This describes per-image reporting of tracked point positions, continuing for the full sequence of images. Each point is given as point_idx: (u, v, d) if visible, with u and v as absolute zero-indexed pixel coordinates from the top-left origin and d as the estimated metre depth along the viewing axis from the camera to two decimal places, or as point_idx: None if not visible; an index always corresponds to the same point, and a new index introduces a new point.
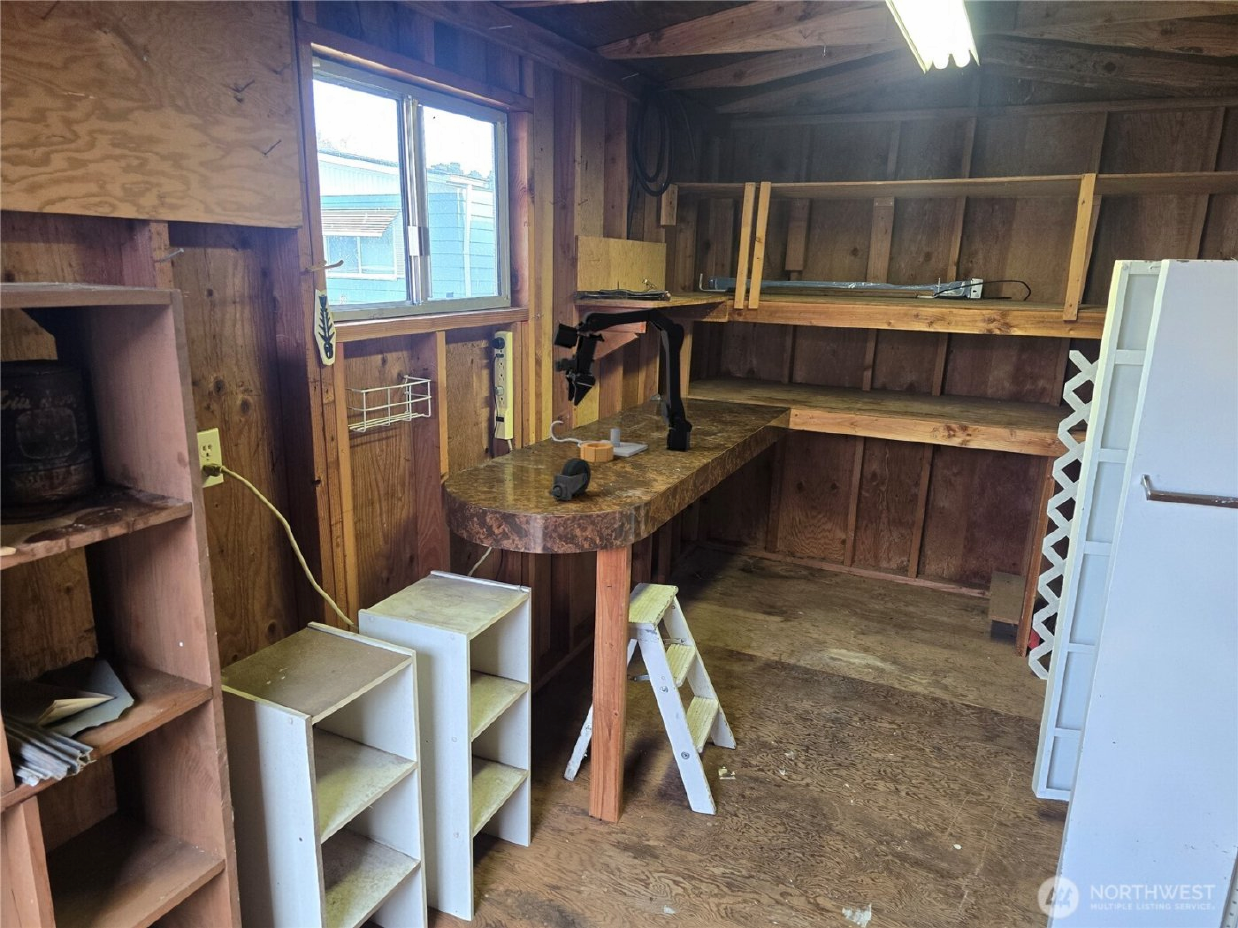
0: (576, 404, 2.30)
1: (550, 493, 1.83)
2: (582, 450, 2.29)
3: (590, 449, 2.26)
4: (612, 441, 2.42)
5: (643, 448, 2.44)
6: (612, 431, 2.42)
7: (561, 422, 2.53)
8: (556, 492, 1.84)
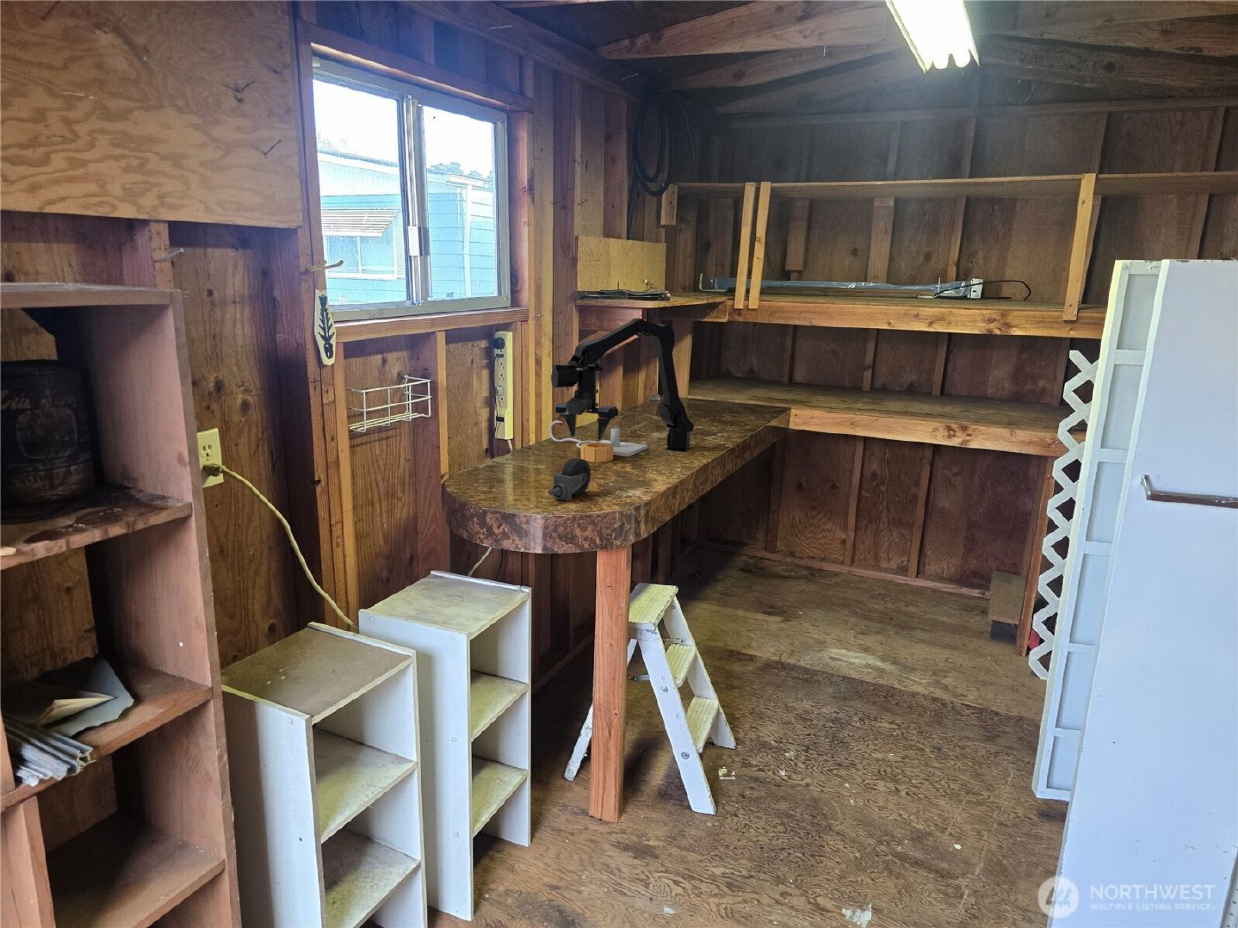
0: (600, 438, 2.30)
1: (550, 493, 1.83)
2: (582, 450, 2.29)
3: (590, 449, 2.26)
4: (612, 441, 2.42)
5: (643, 448, 2.44)
6: (612, 431, 2.42)
7: (560, 422, 2.54)
8: (556, 492, 1.84)
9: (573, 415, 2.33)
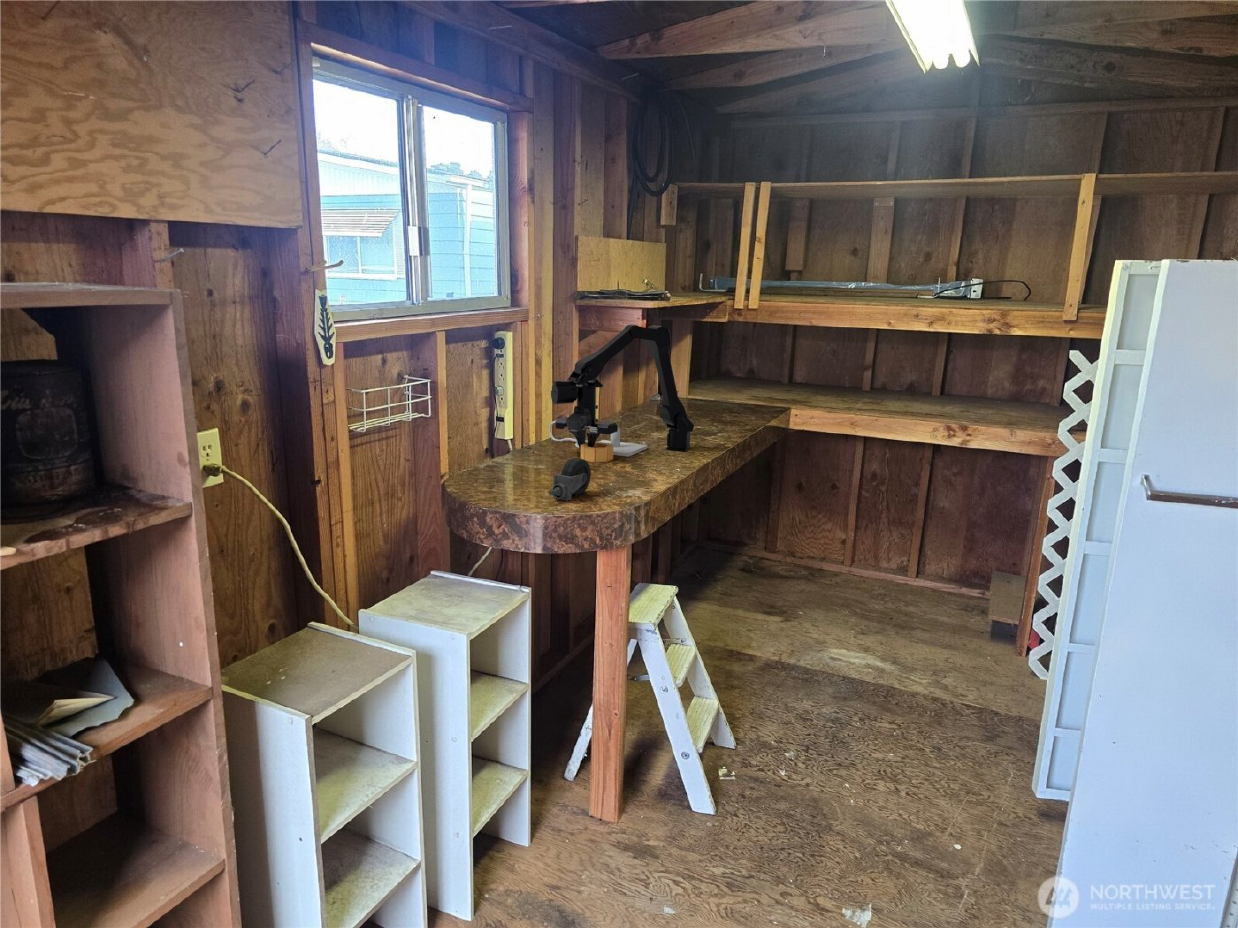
0: None
1: (550, 493, 1.83)
2: (582, 450, 2.29)
3: (590, 449, 2.26)
4: (612, 441, 2.42)
5: (643, 448, 2.44)
6: None
7: None
8: (556, 492, 1.84)
9: (583, 432, 2.33)
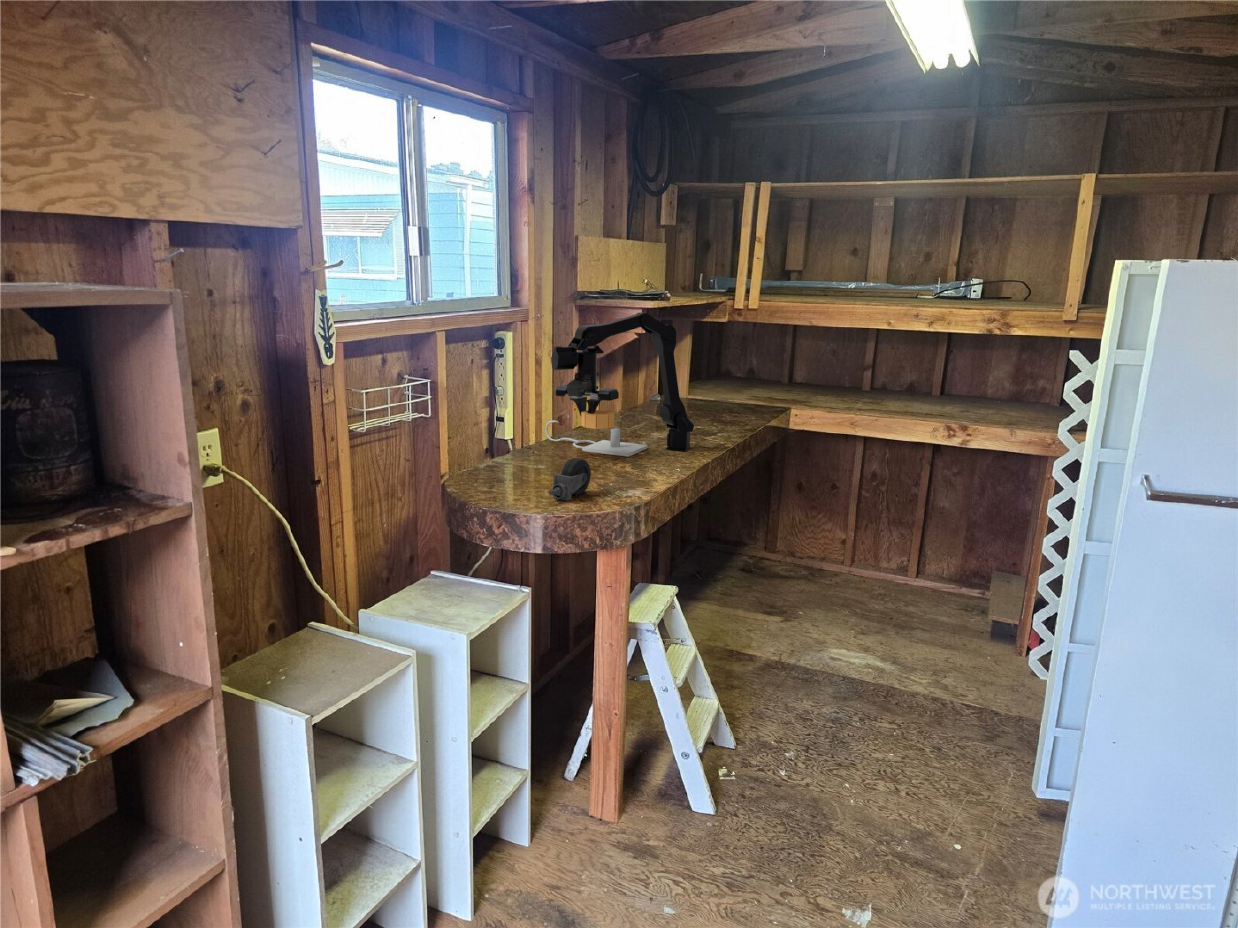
0: None
1: (550, 493, 1.83)
2: (583, 417, 2.27)
3: (591, 416, 2.24)
4: (612, 441, 2.42)
5: (643, 448, 2.44)
6: (612, 431, 2.42)
7: None
8: (556, 492, 1.84)
9: (584, 399, 2.31)
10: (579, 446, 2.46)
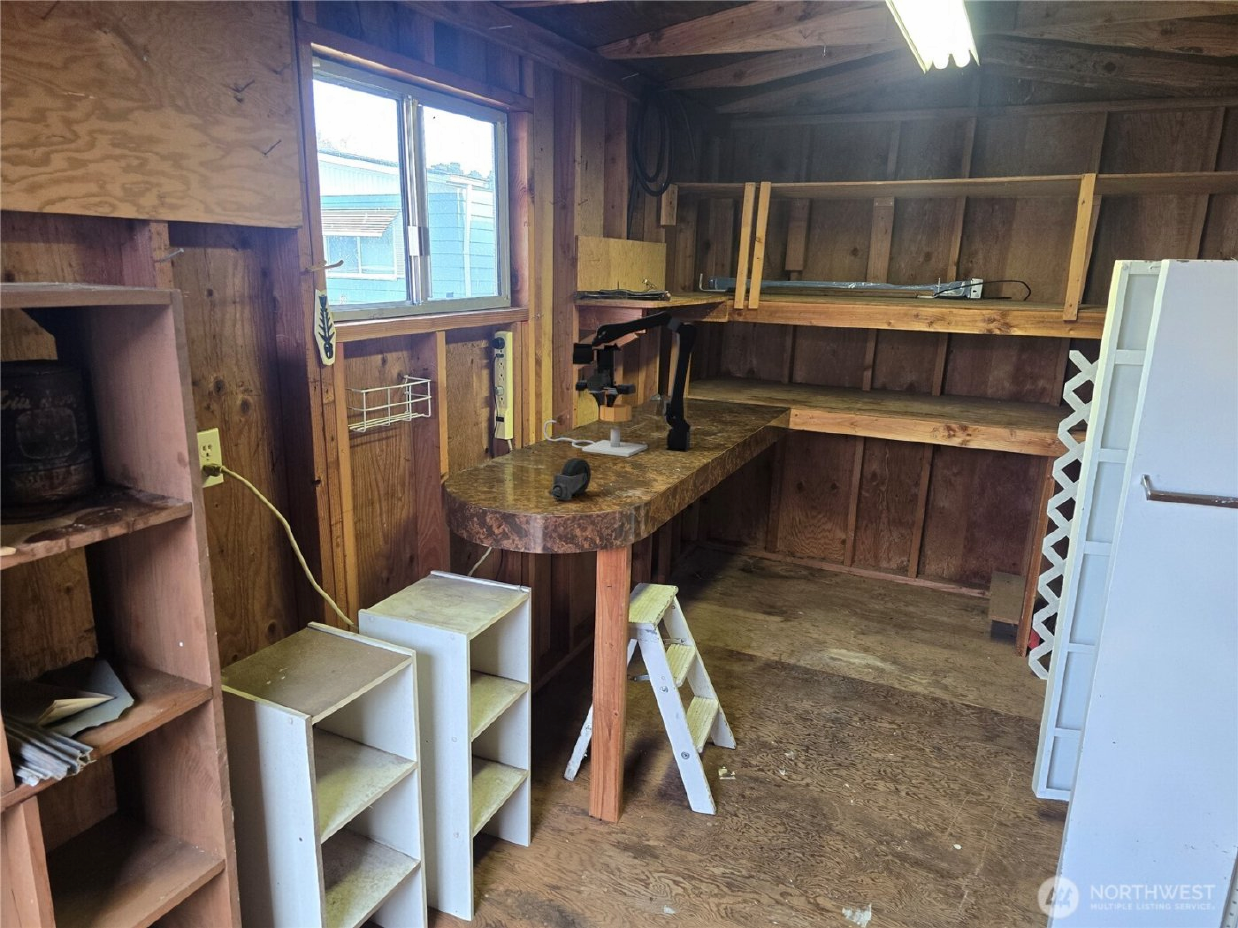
0: None
1: (550, 493, 1.83)
2: (602, 411, 2.39)
3: (610, 409, 2.37)
4: (612, 441, 2.42)
5: (643, 448, 2.44)
6: (612, 431, 2.42)
7: (555, 421, 2.54)
8: (556, 492, 1.84)
9: (602, 394, 2.43)
10: (578, 446, 2.46)
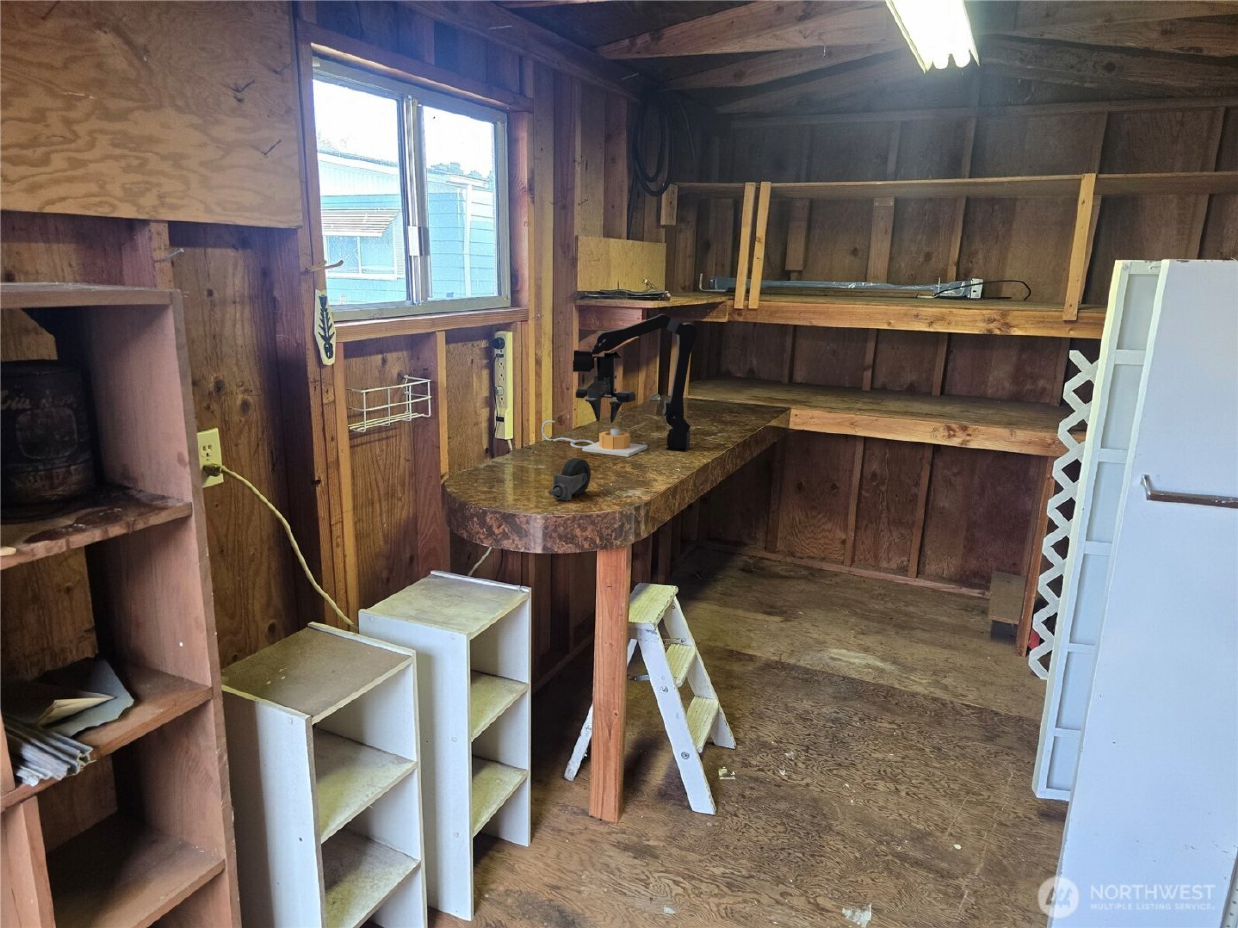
0: (612, 421, 2.42)
1: (550, 493, 1.83)
2: (601, 438, 2.42)
3: (609, 437, 2.39)
4: None
5: (643, 448, 2.44)
6: (612, 431, 2.42)
7: (553, 421, 2.54)
8: (556, 492, 1.84)
9: (598, 401, 2.44)
10: (577, 446, 2.46)
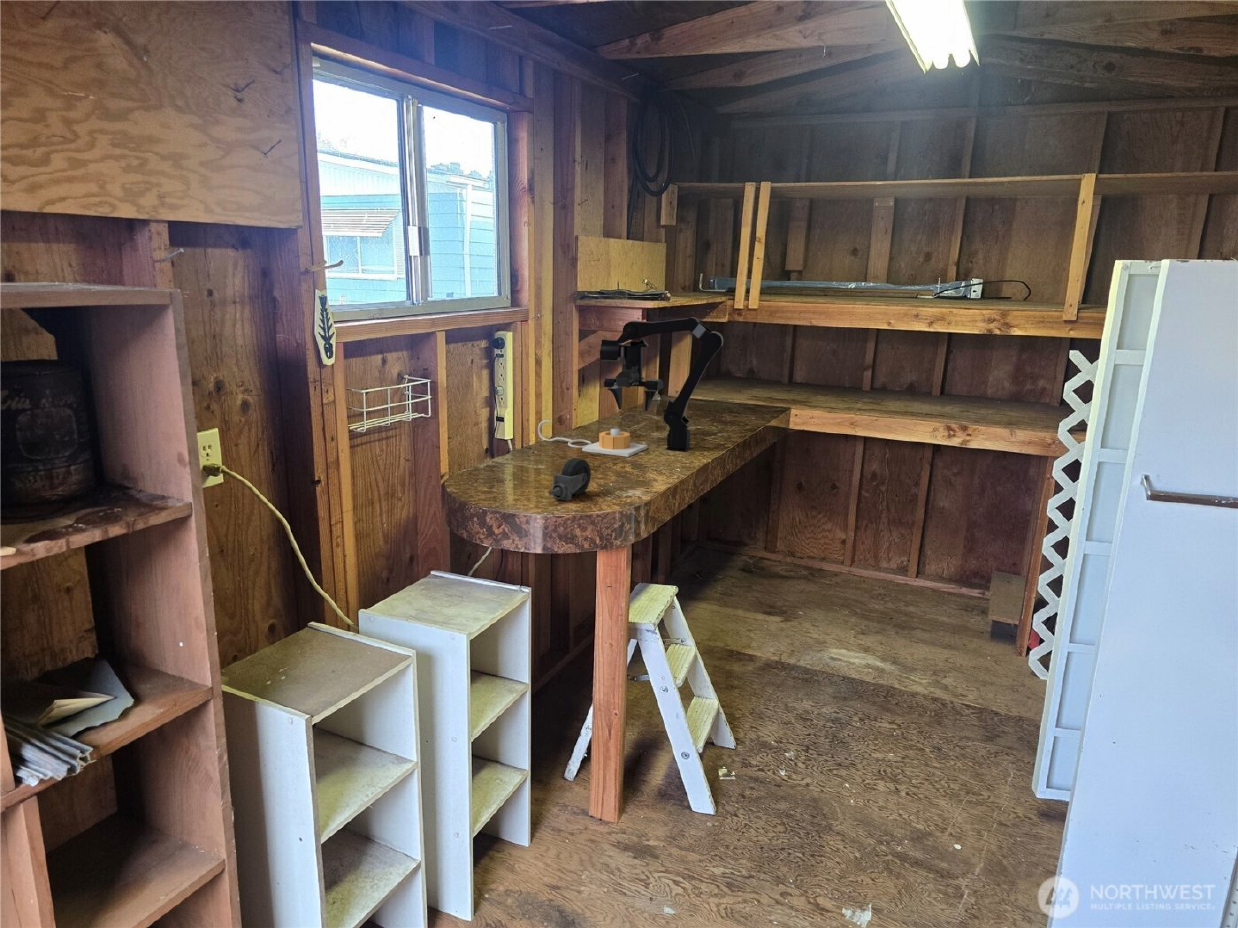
0: (646, 409, 2.45)
1: (550, 493, 1.83)
2: (601, 438, 2.42)
3: (609, 437, 2.39)
4: None
5: (643, 448, 2.44)
6: (612, 431, 2.42)
7: (550, 421, 2.54)
8: (556, 492, 1.84)
9: (620, 389, 2.48)
10: None
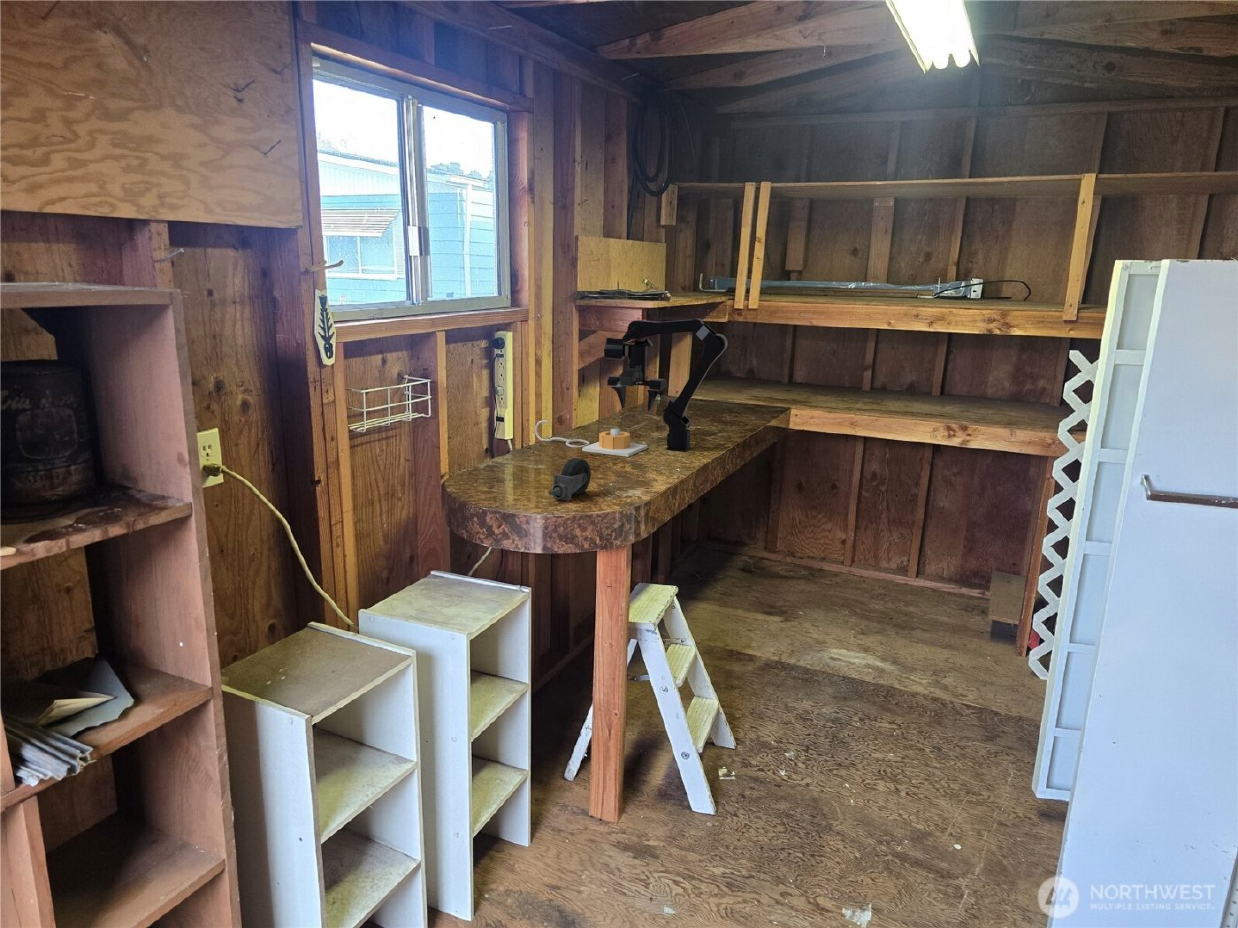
0: (649, 409, 2.45)
1: (550, 493, 1.83)
2: (601, 438, 2.42)
3: (609, 437, 2.39)
4: None
5: (643, 448, 2.44)
6: (612, 431, 2.42)
7: (547, 421, 2.54)
8: (556, 492, 1.84)
9: (623, 388, 2.49)
10: (573, 445, 2.46)
